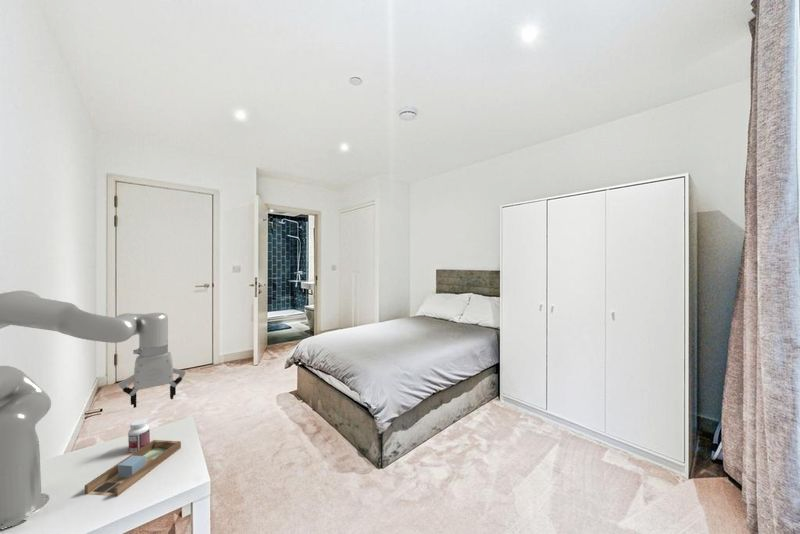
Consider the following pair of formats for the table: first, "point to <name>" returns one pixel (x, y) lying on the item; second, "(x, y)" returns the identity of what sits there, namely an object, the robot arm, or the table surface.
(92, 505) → the table surface
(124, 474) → the block
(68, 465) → the table surface
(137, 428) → the pill bottle
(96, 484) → the box
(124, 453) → the table surface
